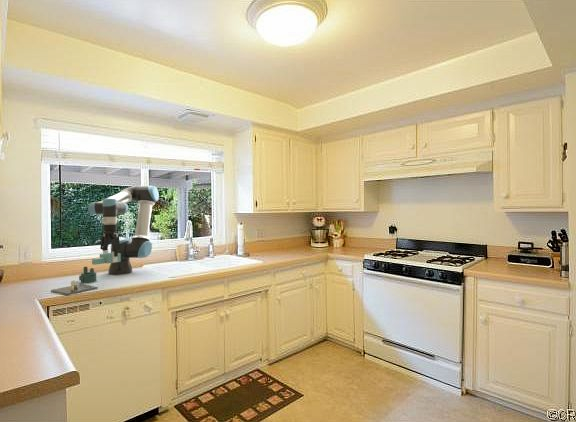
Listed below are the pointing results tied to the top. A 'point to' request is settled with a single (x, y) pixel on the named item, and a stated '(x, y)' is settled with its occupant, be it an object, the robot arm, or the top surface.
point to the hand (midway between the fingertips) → (110, 261)
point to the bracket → (88, 276)
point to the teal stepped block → (105, 259)
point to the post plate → (68, 289)
